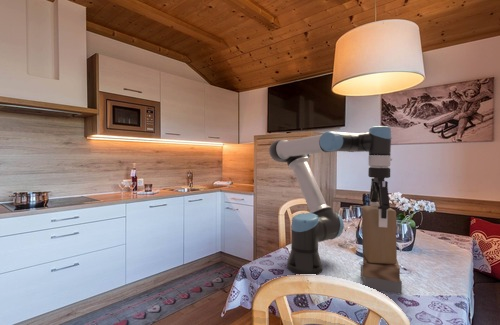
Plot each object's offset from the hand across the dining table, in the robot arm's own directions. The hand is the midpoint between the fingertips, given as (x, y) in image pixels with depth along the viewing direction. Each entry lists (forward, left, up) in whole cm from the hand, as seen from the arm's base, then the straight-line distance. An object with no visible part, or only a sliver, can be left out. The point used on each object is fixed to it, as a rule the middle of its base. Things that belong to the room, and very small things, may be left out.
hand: (378, 222), depth 101 cm
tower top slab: (+1, 0, -20) cm, 20 cm away
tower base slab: (+1, +1, -25) cm, 25 cm away
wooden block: (0, 0, -15) cm, 15 cm away
